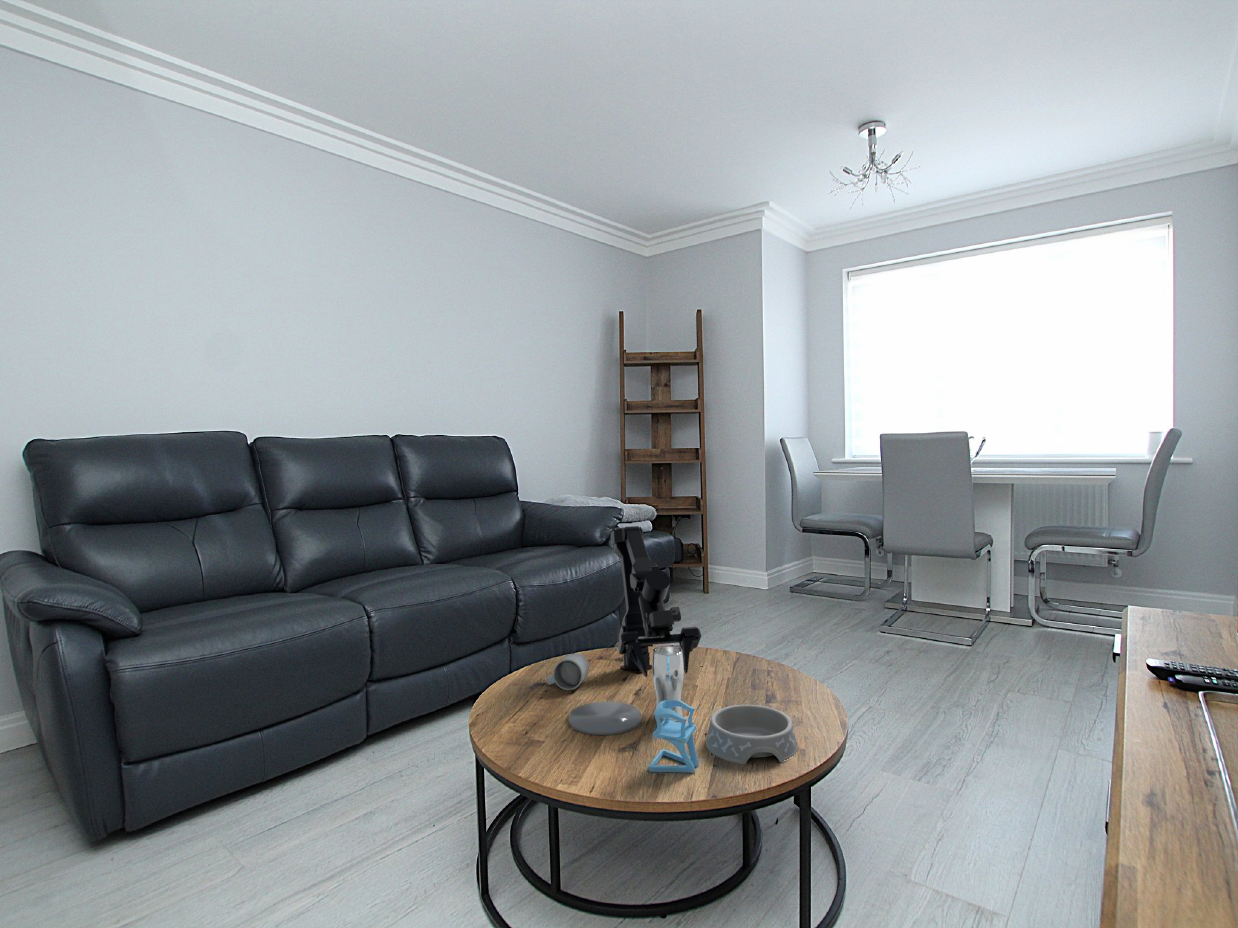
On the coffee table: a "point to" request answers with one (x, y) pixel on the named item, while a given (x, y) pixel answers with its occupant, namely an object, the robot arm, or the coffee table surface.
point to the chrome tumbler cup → (668, 675)
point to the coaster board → (605, 718)
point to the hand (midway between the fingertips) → (666, 674)
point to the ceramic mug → (569, 672)
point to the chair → (675, 737)
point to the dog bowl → (750, 733)
